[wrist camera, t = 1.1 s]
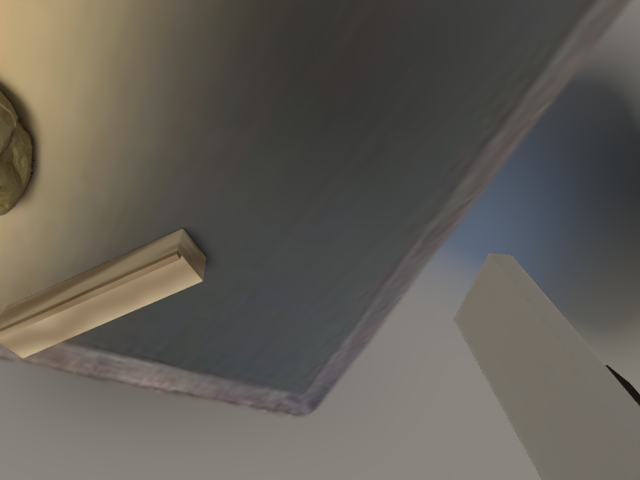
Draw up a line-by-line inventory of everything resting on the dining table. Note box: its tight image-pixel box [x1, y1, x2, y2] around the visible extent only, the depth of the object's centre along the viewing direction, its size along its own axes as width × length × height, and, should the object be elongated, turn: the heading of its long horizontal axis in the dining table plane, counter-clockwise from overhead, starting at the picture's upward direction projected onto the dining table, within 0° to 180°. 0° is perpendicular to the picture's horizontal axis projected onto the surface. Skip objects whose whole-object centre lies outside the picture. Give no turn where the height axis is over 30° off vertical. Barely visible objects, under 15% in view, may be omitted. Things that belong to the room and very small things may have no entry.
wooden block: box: [0, 228, 206, 358], centre depth 38 cm, size 4×20×4 cm, turn 113°
